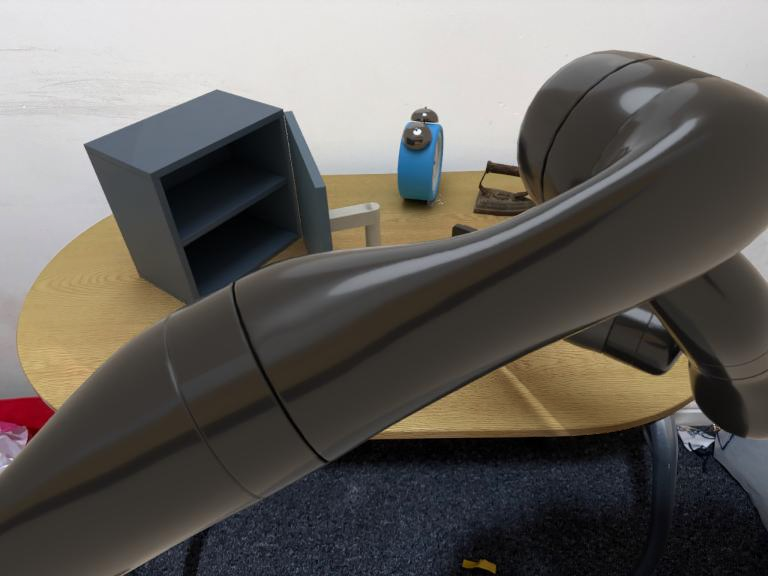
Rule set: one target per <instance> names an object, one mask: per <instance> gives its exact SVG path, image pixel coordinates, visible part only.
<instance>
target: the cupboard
mask: <svg viewBox="0 0 768 576" xmlns="http://www.w3.org/2000/svg"><path fill="white" fill-rule="evenodd" d="M284 112H285V111H284V108H281V107H278V106H274V105H272V104H268V103H264V102H261V101H258V100H255V99H251V98H249V97H248V98H247V97H244V96H241V95H237V94H234V93H231V92H228V91H224V90H221V89H217V88H216V89H214V90H211V91H208V92H206V93H203V94H202V95H199V96H197V97H195V98H192V99H190V100H187V101H185V102H183V103H180V104H177V105H175V106H173V107H170V108H168V109H166V110H163V111H161V112H158V113H156V114H153V115H151V116H148V117H146V118H143V119H141V120H139V121H136V122H134V123H131V124H129V125H126V126H124V127H122V128H119V129H117V130H114V131H112V132H110V133H107V134H105V135H103V136H100V137H97V138H95V139H92V140H90V141H88V142H85V143H83V147H84V150H85V152H86V154H87V156H88V159H89V161H90V163H91V166H92V169H93V171H94V173H95V175H96V177H97V180H98V182H99V185H100V188H101V189H102V191H103V194H104V196H105V198H106V200H107V203H108V206H109V209H110V210H111V213H112V216H113V218H114V220H115V222H116V224H117V228H118V230H119V232H120V234H121V236H122V239H123V241H124V243H125V246H126V248H127V250H128V254H129V255H130V258H131V260H132V262H133V265H134V267H135V270H136V272H137V275H138V276H139V278H141V279H143V280H145V281H146V282H148V283H149V284H151V285H153V286H154V287H156V288H158V289H159V290H161V291H163V292H165V293H166V294H168V295H169V296H172V297H173V298H175V299H176V300H178V301H179V302H181V303H183V304H185V306H186V305H188V304H190V303H191V302H193V301H195V300H197V299H199V298H201V297H203V296H205V295H207V294H209V293H211V292H212V291H214V290H216V289H218V288H220V287H222V286H224V285H226V284H228V283H230V282H232V281H236V279H237V278H239V277H241V276H243V275H245V274H247V273H249V272H252V271H254V270H256V269H259V268H261V267H263V266H265V265H266V264H267V263H268V262H270V261H271V260H272V259H274V258H276V257H277V256H278V255H280V254H282V252H283V251H285V250H287V249H288V248H289V247H290V246H292V245H294V244H295V243H296V242H298V241H299V240H300V239H303V234H302V228H301V221H300V215H299V208H298V202H297V195H296V189H295V182H294V176H293V169H292V163H291V156H290V150H289V143H288V137H287V130H286V124H285V118H284Z"/></svg>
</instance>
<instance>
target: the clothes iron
mask: <svg viewBox="0 0 768 576" xmlns="http://www.w3.org/2000/svg"><path fill="white" fill-rule="evenodd" d="M488 174H496V175H503V176H510V177H516V178H521V177H520V174H519V168H518V165H511V164H504V163H498V162H493V161H491V160H487V162H486V165H485V170H484V173H483V175H482V177H481V179H480V181H479V183H478V189H479V190H478V193H477V197H476V200H475V205H474V208H473V214H478V215H485V216H486V215H488V216H496V217H515V216H517V215H519V214H521V213H523V212H525V211H527V210H529V209H531V208H533V207H535V206H537V205H536V204H535V203H534V201H533V200H532V199H531V198H529V197H528V196H529V194H528V193H527V191H526V190H525V191H518V192H516V193H515V192H511V191H507V190H502V189H497V188H493V187H487V186H485V187H484V185H482V182H483V181H484V179H485V177H486V175H488Z"/></svg>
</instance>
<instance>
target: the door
mask: <svg viewBox="0 0 768 576" xmlns="http://www.w3.org/2000/svg"><path fill="white" fill-rule="evenodd" d="M284 118H285V125H286V131H287V138H288V144H289V151H290V157H291V164H292V170H293V177H294V183H295V190H296V196H297V202H298V209H299V215H300V222H301V228H302V235H303V237H302V239H303V242H304V244H305V248H306V251H307V254H312V253H318V252H326V251H334V247H333V237H332V233H335V232H340V231H346V230H351V229H355V228H360V227H364V233H365V247H375V246H382V228H381V206H380V204H379V203H377V202H373V201H371V202H365V203H359V204H355V205H349V206H344V207H338V208H333V209H329V202H328V201H329V199H328V192H327V186H326V184H325V181H324V179H323V177H322V174H321V172H320V170H319V168H318V165H317V163H316V161H315V158H314V156H313V155H312V152H311V150H310V148H309V145H308V143H307V141H306V139H305V136H304V134H303V131H302V130H301V127H300V125H299V123H298V121H297V119H296V116H295V114H294V112H293V110H287V111H284Z"/></svg>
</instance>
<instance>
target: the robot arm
mask: <svg viewBox="0 0 768 576" xmlns="http://www.w3.org/2000/svg"><path fill="white" fill-rule="evenodd" d="M516 163H517V167H518V168H519V174H520V177H519V178H520V179H521V182H522V184H523V187H524V190H525V192H526V191H527V193H528V197H530V199H531V200H533V201H534V203H535V204H536V205H537V206H535V207H533V208H531V209H529V210H527V211H525V212H523V213H521V214H519V215H516V216H511V217H510V218H507V219H505V220H502V221H501V222H498V223H496V224H492V225H490V226H486V227H484V228H480V229H478V228H474V227H472V226H469V225H466V224H461V223H455V224H454V225H453V226H452V228H451V237H446V238H441V239H433V240H424V241H416V242H408V243H397V244H387V245H381V246H375V247H366V246H365V247H354V248H343V249H333V251H326V252H318V253H312V254H308V253H307V254H303V255H298V256H291V257H288V258H284V259H281V260H277V261H274V262H271V263H269V264H265V265H263V266H261V267H260V268H259V269H256V270H254V271H252V272H249V273H247V274H245V275H243V276H241V277H239V278H237V279H236V281H232V282H230V283H228V284H226V285H224V286H222V287H220V288H218V289H216V290H214V291H212V292H211V293H209V294H207V295H205V296H203V297H201V298H199V299H197V300H195V301H193V302H191V303H190V304H188V305H186V304H185V305H183V306H182V307H179V308H177V309H176V310H175V311H173V312H170V313H169V314H167V315H165V316H163V317H162V318H160V319H158V320H156V321H155V322H153V323H152V324H150V325H149V326H147V327H145V328H144V329H142V330H141V331H140V332H138V333H137V334H135V335H134V336H132V337H131V338H130V339H129V340H128V341H126V342H125V343H124V344H122V345H121V346H120V347H119V348H118V349H117V350H116V351H115V352H113V353H112V355H110V356H109V357H108V358H107V359H106V360H105V361H104V362H103V363H101V365H99V367H98V368H96V370H95V371H94V372H93V373H91V375H89V376H88V378H87V379H85V380H84V382H83V383H82V384H80V385H79V387H78V388H77V389H76V390H75V391H73V393H72V394H71V395H70V396H69V397H68V398H67V399H66V400H65V401H64V402H63V404H62V405H61V406H60V407H59V408H58V409H57V410H56V411H55V412H54V414H53V415H51V417H49V419H48V420H47V421H46V422H45V423H44V425H42V426H41V428H39V430H38V431H37V432H36V433H35V434H34V436H33V437H31V439H30V440H29V441H28V442H27V443H26V445H25V446H24V447H23V448H22V449H21V450H20V451H19V453H17V454H16V456H15V457H14V458H13V459H12V460H11V461H10V462H9V464H7V466H6V467H5V468H4V469H3V470H2V471H1V472H0V576H125V575H126V574H128V573H129V572H132V571H133V570H135V569H136V568H138V567H140V566H142V565H143V564H145V563H147V562H149V561H150V560H152V559H154V558H156V557H158V556H159V555H161V554H163V553H164V552H166V551H169V550H170V549H172V548H174V547H175V546H177V545H179V544H181V543H182V542H184V541H186V540H188V539H190V538H191V537H193V536H196V535H197V534H199V533H201V532H203V531H205V530H207V529H208V528H210V527H212V526H214V525H216V524H218V523H221V522H222V521H224V520H226V519H228V518H230V517H232V516H235V514H238V513H240V512H242V511H243V510H246V509H248V508H249V507H252V506H254V505H256V504H258V503H260V502H262V501H263V500H265V499H268V498H269V497H272V496H273V495H275V494H277V493H278V492H280V491H282V490H284V489H286V488H287V487H289V486H292V485H293V484H295V483H296V482H298V481H300V480H302V479H303V478H305V477H308V476H309V475H311V474H313V473H314V472H317V471H318V470H321V469H322V468H324V467H326V466H327V465H329V464H330V463H331V462H334V461H336V460H338V459H340V458H341V457H343V456H344V455H346V454H348V453H350V452H351V451H353V450H355V449H356V448H357V447H359V446H361V445H363V444H364V443H366V442H367V441H369V440H370V439H373V438H374V437H376V436H377V435H379V434H380V433H382V432H384V431H385V430H387V429H389V428H391V427H393V426H394V425H396V424H398V423H400V422H402V421H403V420H405V419H407V418H409V417H411V416H412V415H414V414H416V413H418V412H420V411H422V410H423V409H426V408H427V407H429V406H431V405H433V404H435V403H436V402H438V401H440V400H442V399H444V398H446V397H447V396H449V395H452V394H453V393H455V392H457V391H459V390H461V389H463V388H464V387H467V386H468V385H470V384H472V383H475V382H476V381H478V380H480V379H482V378H484V377H486V376H488V375H490V374H492V373H494V372H496V371H497V370H499V369H502V368H503V367H505V366H507V365H510V364H512V363H514V362H516V361H518V360H519V359H521V358H524V357H526V356H528V355H530V354H532V353H535V352H537V351H540V350H542V349H544V348H546V347H548V346H550V345H553V344H555V343H558V342H560V341H562V342H565V343H568V344H570V345H572V346H575V347H577V348H580V349H582V350H583V349H584V350H587V351H591V352H594V353H597V354H600V355H603V356H604V357H607V358H609V359H612V360H614V361H616V362H619V363H620V364H623V365H626V366H627V367H630V368H632V369H635V370H637V371H639V372H641V373H644V374H647V375H649V376H653V377H660V376H664V375H666V374H668V373H669V372H670V371H671V370H672V368H673V367H674V366H675V364H677V362H678V361H679V359H680V358H681V356H682V355H684V356H685V358H686V359H687V371H688V379H689V385H690V386H689V387H690V391H691V394H692V397H693V400H694V402H695V404H696V406H697V407H698V409H699V411H701V413H702V414H703V415H704V416H705V418H707V419H708V420H709V421H710V422H711V423H712V424H713V425H715V426H717V428H720V429H722V431H725V432H726V433H728V434H730V435H733V436H736V437H738V438H741V439H744V440H745V439H746V440H750V441H766V440H768V282H767V280H766V278H764V276H763V275H762V274H761V272H759V270H758V269H757V268H756V267H755V265H754V264H753V263H752V262H751V261H750V260H749V259H748V258H747V256H745V255H744V253H743V252H741V251H743V250H744V249H746V248H747V247H749V246H750V245H751V244H752V243H753V242H755V240H756V239H758V238H759V237H760V236H761V235H762V234H763V233H765V231H767V229H768V96H766V95H765V94H763V93H761V92H758V91H757V90H754V89H752V88H749V87H748V86H745V85H742V84H740V83H737V82H735V81H731V80H729V79H725V78H722V77H721V76H718V75H714V74H712V73H709V72H705V71H703V70H699V69H696V68H694V67H690V66H686V65H684V64H680V63H678V62H675V61H671V60H668V59H664V58H662V57H659V56H655V55H652V54H649V53H643V52H637V51H629V50H620V49H619V50H618V49H606V50H600V51H599V50H597V51H593V52H591V53H587V54H584V55H582V56H579V57H576V58H574V59H572V60H571V61H570V62H568V63H566V64H564V65H563V66H561V67H560V68H559V69H558V70H557V71H556V72H555V73H553V74H552V75H551V76H550V77H549V78H547V80H545V82H544V83H543V84H542V85H541V87H540V88H539V89H538V90H537V91H536V93H535V95H534V96H533V98H532V100H531V101H530V103H529V105H528V106H527V109H526V111H525V113H524V116H523V119H522V121H521V123H520V127H519V132H518V135H517V140H516Z"/></svg>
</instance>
